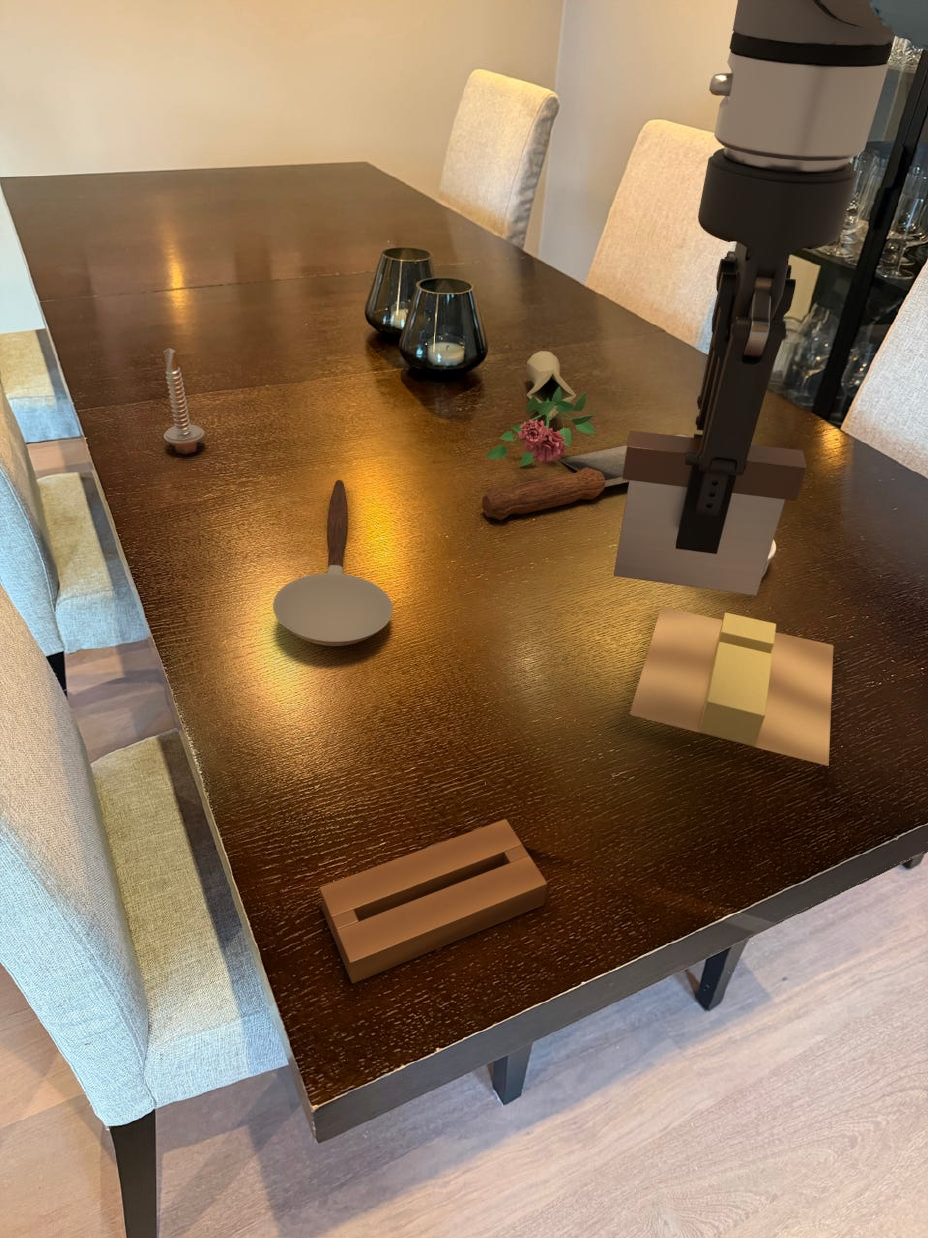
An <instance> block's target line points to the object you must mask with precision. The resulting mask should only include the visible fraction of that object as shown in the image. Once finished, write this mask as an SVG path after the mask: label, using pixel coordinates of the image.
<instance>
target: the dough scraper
mask: <svg viewBox="0 0 928 1238" xmlns="http://www.w3.org/2000/svg"><path fill="white" fill-rule="evenodd" d="M675 435H676V434H673V435H672V434H666V433H657V432H650V431H649V432H648V431H639V430H629V431H628V438H627V443H626V445H627V449H626V455H625V461H624V469H623V477H622V478H623V479H624V480H629V482H628V487H627V491H626V497H625V502H624V503H625V504H624V508H623V509H624V510H623V516H622V522H621V528H620V534H619V539H618V545H617V552H616V558H615V564H614V570H613V577H617V578H626V579H632V580H640V581H647V582H654V583H661V584H667V585H676V586H682V587H690V588H695V589H704V590H711V591H718V592H726V593H733V594H740V595H747V596H753V597H757V595H758V593H759V589H760V587H761V582H762V579H763V577H764V576H763V573H764V569H765V566H766V563H767V559H768V556H769V553H770V549H771V546H772V542H773V539H774V538H775V536H776V532H777V529H778V525H779V523H780V518H781V515H782V512H783V509H784V505H785V501H793V502H794V501H795V502H796V501H797V500H798V498H799V494H800V492H801V488H802V485H803V481H804V478H805V476H806V471H807V464H806V460H805V455H804V451H803V450H801V449H794V448H793V449H792V448H785V447H776V446H775V447H774V446H767V445H760V444H751V446H750V450H749V453H748V457H747V460H746V462H747V466H746V470H744V473H743V474H742V476H740V475H737V476H736V480H735V484H734V488H733V492H732V496H731V500H730V504H729V508H728V512H727V516H726V520H725V524H724V528H723V532H722V536H721V540H720V544H719V548H718V552H717V554H711V553H704V552H696V551H689V550H681V549H676V539H677V534H678V530H679V525H680V520H681V516H682V511H683V506H684V502H685V497H686V492H687V488H688V483H689V479H690V474H691V469H692V465H685V457H686V451H687V452H696V453H697V452H698V451H699V449H700V445H701V440H702V439H700V438H693V437H692V436H691V437H690V436H688V437H683V436H675ZM774 540H775V539H774ZM762 576H763V577H762Z"/></svg>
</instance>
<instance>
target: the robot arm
mask: <svg viewBox="0 0 928 1238" xmlns="http://www.w3.org/2000/svg"><path fill="white" fill-rule="evenodd" d="M896 37H897V38H898V39H904V40H907V41H909V42H910V44H911V45H912V46H913V47H915V48H917V49H922V50H925V51H927V52H928V0H737V4H736V10H735V14H734V20H733V26H732V34H731V37H730V42H729V50H730V52H729V55H728V59H727V65H728V67H729V69H730V72H727V73H726V72H723V73H714V74H713V76H712V77H711V79H710V83H709V89H708V90H709V92H710V94H711V95H713V96H717V97H718V96H719V97H720V96H721V97H723V98H722V99H721V101H720V103H719V104H718V105H719V106H718V112H717V117H716V123H715V128H714V138H715V140H716V141H717V143H719V144H720V145H722V146H723V147H722V148H719V149H717V150H715V151H714V152H713V154H712V155H711V156H709V158H707V163H706V170H705V176H704V180H703V185H702V186H703V187H702V191H701V196H700V203H699V207H698V208H699V209H698V214H697V221H698V224H699V226H700V227H701V229H702V230H703V231H705V233H707V234H709V235H710V236H712V237H714V238H716V239H718V240H721V241H724V242H727V243H731V242H732V243H733V242H734V243H735V247H734V250H728V251H727V253H726V256H724V258H720V260H719V264H718V268H717V272H716V278H715V279H716V285H715V287H716V288H715V289H716V298H715V303H714V307H713V311H712V316H711V338H710V344H709V348H708V354H707V359H706V364H705V369H704V373H703V378H702V384H701V389H700V392H699V393H700V394H699V395H698V396H697V399H696V404H697V409H698V410H699V413H698V415H697V416H696V418H695V423H694V424H695V426H696V431H700V432H702V434H699V433H694V434H693V437H692V438H700V439H702V440H701V445H700V449H699V451H698V452H697V453H696V452H687V451H686V457H685V465H692V469H691V474H690V479H689V483H688V488H687V492H686V497H685V502H684V506H683V511H682V516H681V520H680V525H679V530H678V534H677V539H676V549H681V550H689V551H696V552H704V553H711V554H717V552H718V548H719V544H720V540H721V536H722V532H723V528H724V524H725V520H726V516H727V512H728V508H729V504H730V500H731V496H732V492H733V488H734V484H735V480H736V476H737V475H740V476H742V474H743V473H744V470H746V466H747V462H746V460H747V457H748V453H749V450H750V446H751V445H752V444H753V443H752V442H753V438H754V435H755V431H756V428H757V425H758V421H759V417H760V414H761V409H762V407H763V403H764V400H765V397H766V392H767V389H768V386H769V382H770V379H771V375H772V371H773V368H774V364H775V363H776V359H777V356H778V353H779V351H780V348H781V345H782V342H783V340H785V339H786V336H787V328H786V327H787V323H786V321H785V320H784V317H785V315H786V314H787V313H788V312H789V311H790V310H791V307H792V303H793V299H794V296H795V290H796V285H797V279H795V278H791V275H792V267H793V266H792V264H789V259H790V256H791V255H792V254H793V253H795V252H798V251H800V250H804V249H807V250H816V249H820V248H823V247H827V246H828V245H830V244H832V243H834V242H835V241H836V240H837V239H838V237H839V236H840V234H841V232H842V228H843V225H844V222H845V218H846V214H847V211H848V207H849V205H850V200H851V196H852V192H853V189H854V186H855V182H856V178H857V174H858V173H857V171H856V170H855V166H854V165H853V163H852V162H850V159H852V158H854V157H856V156H859V155H860V154H861V153H863V152H864V151H865V149H866V147H867V142H868V139H869V135H870V132H871V129H872V125H873V122H874V118H875V114H876V111H877V107H878V104H879V101H880V97H881V94H882V90H883V88H884V87H883V86H884V82H885V79H886V77H887V72H888V69H889V66H890V61H889V60H890V57H891V53H892V50H893V46H894V44H893V43H894V42H895V38H896Z"/></svg>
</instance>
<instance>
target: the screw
mask: <svg viewBox="0 0 928 1238" xmlns="http://www.w3.org/2000/svg"><path fill="white" fill-rule="evenodd" d="M163 356H164V362H165V369H166V371H165V374H166V376H165V379H166V380H167V381H166V384H168V385H167V388H168V389H169V390H168V393H169V396H168V398H170V400H169V402H170V403H171V404H170V407H171V408H172V409H171V412H173V413H172V416H173V422H174V423H173V426H171V427H169V428H168V429H167V430H166V431H165V432H164V433H163V440H164V442H165V443H167V444H169V445H171V446H174V449H175V453H178V454H181V455H189V454H193V453H196V452H197V449H198V443H199V442H201V441H202V440H204V438H205V436H206V433H205V431H204V429H203V428H201V427H200V426H198V425H195V424H191V423H190V418H189V417H190V414H188V413H189V410H188V405H187V400H186V399H187V397H186V396H185V394H186V392H185V387H184V382H183V376H182V372H181V367H179V364H178V359H177V352H176V350H175V349H173V348H169V347H168V348H166V349H165V350H163Z"/></svg>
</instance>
